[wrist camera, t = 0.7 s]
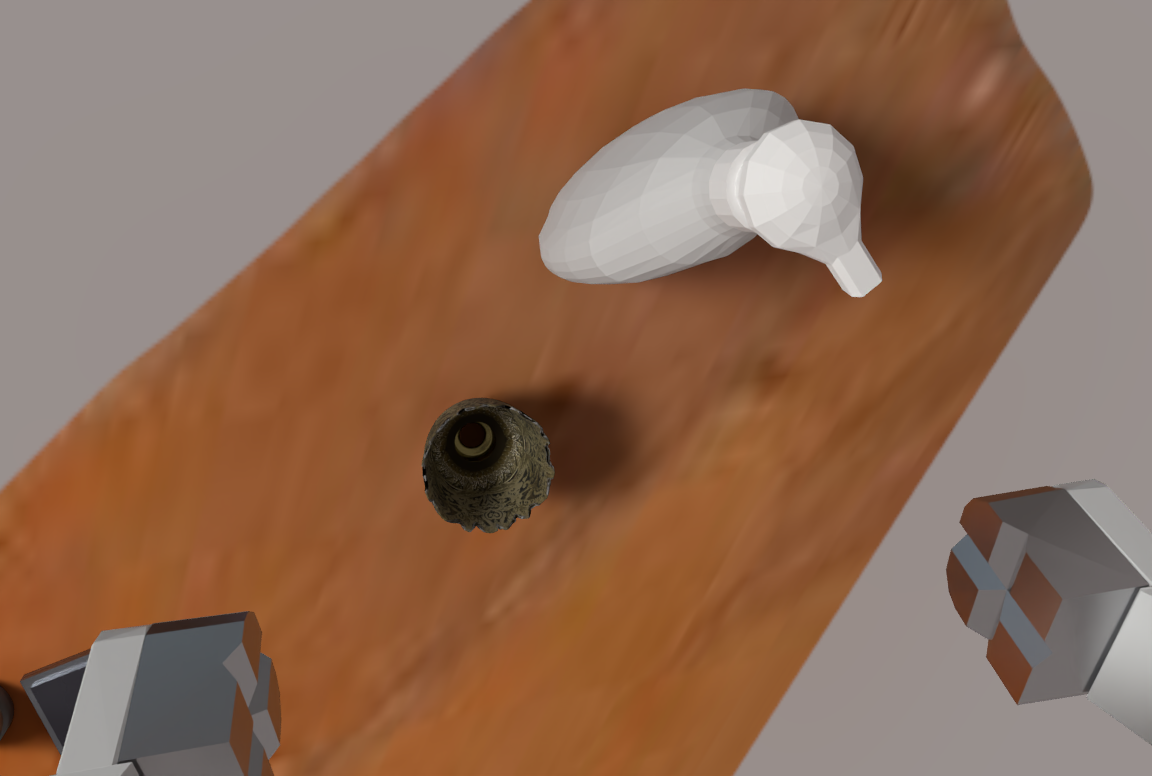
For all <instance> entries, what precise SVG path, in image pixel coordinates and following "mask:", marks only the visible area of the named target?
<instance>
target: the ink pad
mask: <svg viewBox="0 0 1152 776" xmlns="http://www.w3.org/2000/svg"><path fill="white" fill-rule="evenodd" d="M90 651H91V649H89V650H86V651H83V652H81V653H78V654H76V655H73V656H71V657H68V658H66V659H63V660H60V661H58V662H55V663H53V664H50V665H48V666H45V667H43V668H40V669H38V670H35V671H32V672H30V673H27V674H25V675H24V676H23V677H22V679H21V680H20V682H21V684H22V686H23V688H24V690H25V691H26V693H27V695H28V697H29V699H30V700H31V702H32V704H33V706H34V708H35V709H36V711H37V713H38V715H39V717H40V718H41V720H42V722H43V724H44V726H45V727H46V729H47V731H48V733H49V735H50V736H51V738H52V740H53V742H54V744H55V745H56V747H57V749H58V751H59V753H60V755H62V751H63V748H64V744H65V740H66V737H67V733H68V730H69V726H70V722H71V719H72V715H73V712H74V708H75V704H76V701H77V697H78V694H79V690H80V687H81V683H82V679H83V676H84V672H85V669H86V665H87V661H88V658H89V654H90Z"/></svg>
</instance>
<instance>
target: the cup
mask: <svg viewBox="0 0 1152 776" xmlns="http://www.w3.org/2000/svg"><path fill="white" fill-rule="evenodd" d="M469 423H477V424H479V425H480V426H482V428H483V429H484V431H485V438H484V441H483V442H482V444H480V445H479V446H477V447H474V448H469V447H466V446H464V445H463V444H462V443H461V441H460V438H459V434H460V431H461V429H462V427H463V426H465V425H466V424H469ZM549 444H550V441H549V439H548V438H547V436H546V435H545V434H544V432H543V429H542V427H541V426H540V425H539V424H538V423H537V422H536V421H535V420H534V419H532V418H530V417H529V416H527V415H526V414H524V413H523V412H522V411H520V410H518V409H516V408H514V407H512V406H510V405H509V404H506V403H504V402H501V401H498V400H495V399H489V398H473V399H468V400H464V401H461V402H459V403H457V404H455V405H453V406H451V407H450V408H448V409H447V410H446V411H445V412H443V413H442V414H441V415H440V416H439V418H438V419H437V420H436V421H435V423H434V425H433V426H432V428H431V430H430V432H429V434H428V437H427V441H426V444H425V450H424V456H423V460H422V467H423V479H424V483H425V493H426V496H427V498H428V500H429V501H430V502H432V504H433V505H434V508H435V510H436V511H437V513H438V514H439V515H440V516H441V518H443V519H444V520H445V521H447V522H450V523H459V524H461V526H462V528H463V529H464V530H466V531H468V532H471V531H472V530H473V529H474V528H475V526H477V527H478V528H479V529H480V530H482V531H483V532H486V533H494V532H496V531H498V528H499V529H500V530H501V529H504V530H508V529H509V528H510V527H511V525H512V524H513V523H514V522H515V521H516V518H517V517H518V518H521V519H527V518H529V517H530V514H531V509H532V508H533V507H535V506H539V505H540V504H541V503H542V502H543V501H544V500H545V499H547V497H548V494H549V488H550V483H551V479H553V478H554V474H555V470H554V466H552V464H551V462H550V450H549V449H548V445H549Z"/></svg>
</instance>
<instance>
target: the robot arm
mask: <svg viewBox="0 0 1152 776" xmlns="http://www.w3.org/2000/svg"><path fill="white" fill-rule="evenodd" d="M960 524H961V525H962V527H963V528H964V530H965V531H966V532H967V535H966V536H965V537H964V538H963V539H961V541H959V542H958V543H957V544H956V545H955V546H954V547H953V548H952V549H951V552H950V556H949V560H948V564H947V569H946V572H947V580H948V588H949V593H950V596H951V598H952V601H953V603H954V606H955V609H956V610H957V612H958V614H959V615H960V617H961V618H962V620H963V622H964V623H965V625H966V626H967V627H968V628H970V629H972V630H974V631H975V632H977V633H978V634H980V635H982V636H983V637H985V638H987V639H988V648H987V656H986V657H987V659H988V661H989V662H990V664H991V665H992V667H993V668H994V670H995V671H996V673H997V674H998V676H999V678H1000V679H1001V681H1002V682H1003V684H1004V685H1005V687H1006V688H1007V690H1008V691H1009V693H1010V695H1011V696H1012V698H1013V699H1014V701H1015V702H1016V704H1017V705H1020V704H1026V703H1033V702H1040V701H1046V700H1052V699H1059V698H1065V697H1072V696H1078V695H1084V694H1088V695H1087V697H1086V698H1087V699H1088V700H1090V701H1091V702H1092V703H1094V704H1095V705H1097V706H1098V707H1099V708H1101V709H1102V710H1103V711H1105V712H1106V713H1108V714H1109V715H1110V716H1112V717H1113V718H1115V719H1116V720H1117V721H1119V722H1120V723H1122V724H1123V725H1124V726H1126V727H1127V728H1128V729H1130V730H1131V731H1133V732H1134V733H1135V734H1137V735H1138V736H1140V737H1141V738H1143V739H1144V740H1145V741H1147V742H1148V743H1149V744H1151V745H1152V533H1151V532H1150V531H1149V530H1148V528H1147V527H1146V526H1145V525H1144V524H1143V523H1142V522H1141V521H1140V520H1139V519H1138V518H1137V517H1136V516H1135V515H1134V513H1133V512H1132V511H1131V510H1129V508H1128V507H1127V506H1126V505H1125V504H1124V503H1123V502H1122V501H1121V500H1120V499H1119V498H1118V496H1116V494H1115V493H1114V492H1113V491H1112V490H1111V489H1110V488H1109V487H1108V486H1107V485H1105V484H1104V483H1102V482H1100V481H1097V480H1095V479H1092V480H1085V481H1078V482H1073V483H1066V484H1060V485H1054V486H1051V487H1050V486H1045V487H1038V488H1032V489H1026V490H1020V491H1015V492H1009V493H1002V494H996V495H990V496H984V497H978V498H973V499H972V500H971V501H970V502H969V503H968V504H967V505H966V506H965V508H964V510H963V513H962V516H961V520H960ZM261 638H262V631H261V628H260V626H259V623H258V621H257V618H256V615H255V613H254V612H250V611H246V612H239V613H231V614H223V615H216V616H208V617H200V618H192V619H185V620H177V621H169V622H161V623H154V624H151V625H143V626H136V627H128V628H121V629H114V630H106V631H102V632H101V633H100V635H99V636H98V638H97V639H96V640H95V642H94V643H93V645H92V647H91V651H90V654H89V658H88V661H87V665H86V669H85V672H84V676H83V679H82V683H81V687H80V690H79V694H78V697H77V701H76V704H75V708H74V712H73V715H72V719H71V722H70V726H69V730H68V733H67V737H66V740H65V744H64V748H63V751H62V755H61V758H60V762H59V766H58V769H57V773H56V775H51V776H274V774H273V771H272V768H271V766H270V763H269V759H270V757H271V756H272V755H273V753H274V752H275V751H276V750H277V748H278V747H279V746H280V735H281V705H280V691H279V686H278V681H277V676H276V672H275V669H274V666H273V662H272V659H271V658H269V657H267V656H266V655H264V654H262V653H260V650H261Z"/></svg>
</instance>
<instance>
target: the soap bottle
mask: <svg viewBox="0 0 1152 776" xmlns="http://www.w3.org/2000/svg"><path fill="white" fill-rule="evenodd" d="M862 186H863V175H862V172H861V169H860V166H859V162H858V159H857V156H856V153H855V149H854V146H853V145H852V144H851V143H850V142H849V141H847V140H846V139H845V138H844V137H843V136H842V135H841V134H840V133H839V132H838V131H837V130H836V129H835V128H833V127H832V126H831V125H830V124H824V123H818V122H812V121H806V120H800V119H798V117H797V114H796V112H795V110H794V108H793V107H792V105H791V104H790V103H789V102H788V101H787V99H786V98H784V97H782V96H781V95H779V94H777V93H775V92H773V91H766V90H758V89H739V90H734V91H729V92H724V93H719V94H714V95H709V96H703V97H698V98H694V99H692V100H689V101H686V102H684V103H681V104H679V105H676V106H674V107H671V108H668V109H666V110H663V111H661V112H659V113H657V114H655V115H653V116H652V117H650V118H648V119H646V120H644V121H642V122H641V123H639V124H637V125H635V126H634V127H632V128H630V129H629V130H628V131H626V132H625V133H623V134H622V135H620V136H619V137H617V138H616V139H614V140H613V141H611V142H610V143H609V144H607V145H606V146H604V147H603V148H602V149H600V150H599V151H598V152H597V153H596V154H595V155H594V156H593V157H592V158H591V159H590V160H589V161H588V162H587V163H586V164H584V165H583V166H582V167H581V168H580V169H579V170H578V171H577V172H576V173H575V174H574V175H573V176H572V178H571V179H570V180H569V181H568V182H567V184H566V185H565V186H564V187H563V188H562V189H561V191H560V192H559V193H558V195H557V197H556V199H555V201H554V202H553V204H552V206H551V208H550V211H549V215H548V218H547V220H546V222H545V224H544V226H543V228H542V230H541V232H540V235H539V242H540V250H541V258H542V260H543V262H544V264H545V266H546V267H547V268H548V269H549V270H550V271H551V272H552V273H554V274H556V275H557V276H559V277H561V278H563V279H566V280H569V281H571V282H578V283H587V284H620V283H636V282H642V281H646V280H650V279H654V278H659V277H663V276H667V275H670V274H673V273H676V272H679V271H682V270H684V269H687V268H690V267H693V266H696V265H699V264H702V263H705V262H708V261H711V260H714V259H718V258H722V257H725V256H728V255H730V254H731V253H732V252H734V251H735V250H737V249H738V248H740V247H741V246H743V245H744V244H746V243H747V242H748V241H750V240H751V239H753V238H754V237H755V236H756V235H757V234H758V235H759V236H760V237H762V238H763V239H764V240H765V241H766V242H767V243H769V244H770V245H771V246H772V247H775V248H779V249H784V250H788V251H792V252H797V253H801V254H803V255H805V256H808V257H810V258H812V259H815V260H817V261H820V262H822V263H824V264H826V265H827V267H828V268H829V270H830V271H831V273H832V274H833V276H834V277H835V279H836V280H837V282H838V284H839V285H840V287H841V288H842V290H844V291H845V292H846V293H848V294H849V295H850V296H852V297H864V296H865V295H866V294H867V293H868V292H870V291H871V290H872V289H873V288H874V287H876V286H877V285H878V284H879V283H880V282H882V275H881V271H880V270H879V268H878V267H877V265H876V263H875V262H874V260H873V258H872V257H871V255H870V254H869V252H868V250H867V249H866V247H865V246H864V244H863V242H862V241H861V218H860V211H861V196H862Z"/></svg>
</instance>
